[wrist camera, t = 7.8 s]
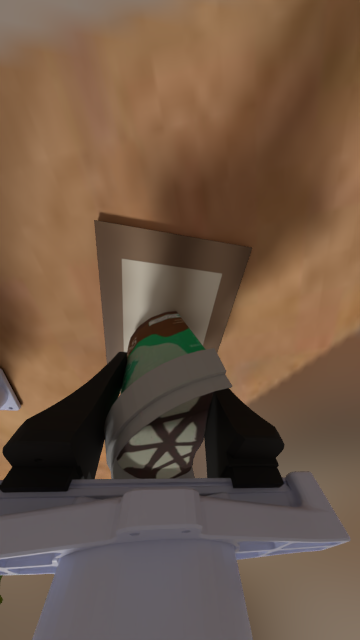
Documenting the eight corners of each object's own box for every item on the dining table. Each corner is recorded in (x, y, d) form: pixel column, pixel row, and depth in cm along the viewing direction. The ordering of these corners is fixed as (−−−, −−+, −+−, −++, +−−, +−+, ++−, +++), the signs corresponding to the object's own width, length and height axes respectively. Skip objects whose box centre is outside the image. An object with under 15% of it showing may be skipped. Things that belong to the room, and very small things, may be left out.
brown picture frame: (111, 388, 22) (109, 392, 21) (97, 220, 12) (94, 220, 12) (201, 393, 23) (202, 397, 22) (249, 247, 14) (252, 247, 13)
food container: (109, 297, 13) (70, 405, 5) (177, 297, 15) (235, 377, 7) (120, 391, 19) (111, 516, 11) (169, 383, 21) (194, 486, 12)
